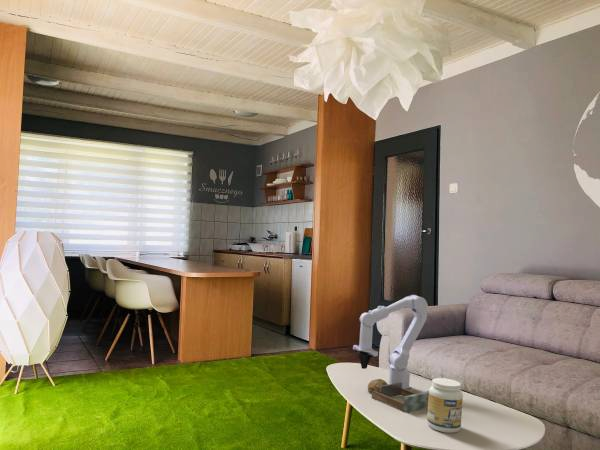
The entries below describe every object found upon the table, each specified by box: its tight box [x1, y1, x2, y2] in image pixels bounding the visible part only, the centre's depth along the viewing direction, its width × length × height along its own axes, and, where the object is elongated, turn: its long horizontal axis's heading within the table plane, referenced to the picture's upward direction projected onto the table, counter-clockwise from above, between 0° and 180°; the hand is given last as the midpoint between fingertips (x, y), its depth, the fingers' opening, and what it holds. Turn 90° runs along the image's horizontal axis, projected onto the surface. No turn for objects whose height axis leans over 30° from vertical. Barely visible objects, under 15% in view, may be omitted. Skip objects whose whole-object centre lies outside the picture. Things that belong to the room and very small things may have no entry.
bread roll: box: [367, 378, 389, 396], centre depth 218 cm, size 10×10×8 cm
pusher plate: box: [380, 382, 402, 398], centre depth 213 cm, size 13×1×6 cm, turn 127°
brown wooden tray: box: [371, 388, 429, 413], centre depth 208 cm, size 16×19×6 cm
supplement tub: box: [426, 377, 464, 434], centre depth 182 cm, size 12×12×17 cm
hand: (364, 368), depth 226 cm, fingers closed
